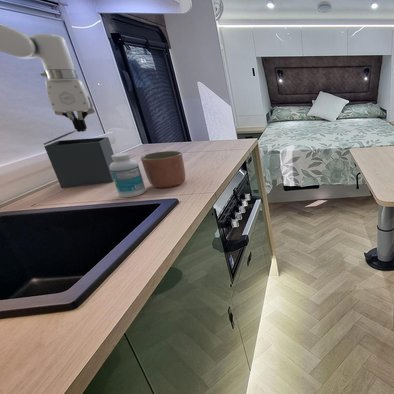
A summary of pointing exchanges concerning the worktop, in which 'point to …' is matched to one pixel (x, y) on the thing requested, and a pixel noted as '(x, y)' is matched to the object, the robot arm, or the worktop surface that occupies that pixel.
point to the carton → (81, 161)
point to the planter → (164, 168)
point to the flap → (60, 137)
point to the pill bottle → (126, 175)
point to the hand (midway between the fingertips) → (81, 131)
